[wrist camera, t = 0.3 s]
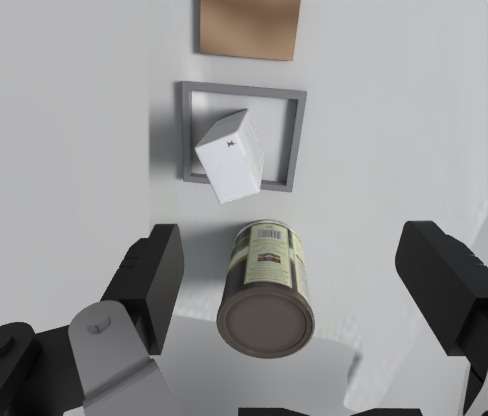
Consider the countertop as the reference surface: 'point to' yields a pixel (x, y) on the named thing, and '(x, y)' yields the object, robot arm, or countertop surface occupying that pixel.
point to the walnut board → (249, 28)
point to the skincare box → (232, 157)
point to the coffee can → (266, 293)
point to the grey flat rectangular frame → (242, 90)
